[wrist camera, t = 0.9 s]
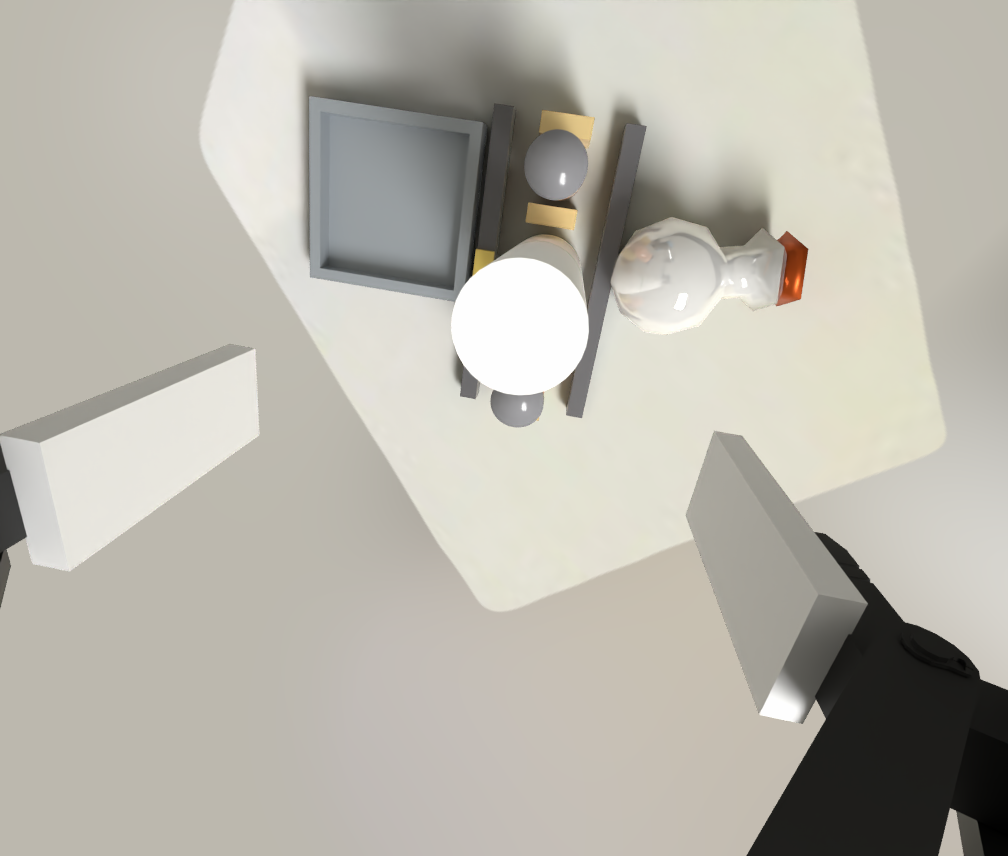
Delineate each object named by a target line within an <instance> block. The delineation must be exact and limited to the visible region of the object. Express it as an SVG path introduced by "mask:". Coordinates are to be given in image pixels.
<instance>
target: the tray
mask: <svg viewBox="0 0 1008 856" xmlns="http://www.w3.org/2000/svg"><path fill="white" fill-rule="evenodd" d="M486 135H487V125H485V124H484V123H483V122H479V121H472V120H466V119H459V118H452V117H446V116H439V115H432V114H426V113H419V112H412V111H406V110H399V109H392V108H386V107H379V106H372V105H366V104H359V103H352V102H346V101H339V100H332V99H326V98H319V97H312V96H309V182H310V277H312V278H318V279H324V280H330V281H336V282H342V283H348V284H354V285H359V286H365V287H371V288H377V289H383V290H389V291H395V292H401V293H407V294H412V295H418V296H424V297H430V298H436V299H442V300H448V301H454V302H456V299H457V297H458V295H459V293H460V291H461V289H462V288H463V287H464V285H465V284H466V283H467V282H468V280H469V279H470V274H471V266H472V257H473V248H474V240H475V231H476V222H477V213H478V205H479V196H480V187H481V179H482V170H483V161H484V152H485V144H486Z"/></svg>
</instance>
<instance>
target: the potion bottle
mask: <svg viewBox="0 0 1008 856" xmlns="http://www.w3.org/2000/svg"><path fill="white" fill-rule="evenodd" d="M807 254H808V248H806V247H805V246H804V245H803V244H802V243H801V242H799V241H798V240H797V239H796V238H795V237H793V236H792V235H791V234H790V233H789V232H788V231H786V232H785V233H784V235H783V236H782V237H781V238H780V239H778V240H776V239H775V238H774V237H773V236H772V235H770V234H769V233H768V232H767V231H766V230H765V229H764V228H763V227H762V228H761V229H760V230H759V231H758V232H757V233H756V234H755V235H754V236H753V237H752V238H751V239H750V240H749V241H748V242H747V243H746V244H745V245H743V246H729V247H719V246H718V244H717V242H716V241H715V239H714V237H713V236H712V234H711V232H710V230H709V229H708V227H705V226H702V225H698V224H695V223H691V222H688V221H684V220H681V219H677V218H674V217H669V218H667V219H664V220H662V221H659V222H656V223H654V224H651V225H649V226H646V227H644V228H641V229H638V230H636V231H635V232H634V234H633V235H632V236H631V238H630V239H629V241H628V242H627V244H626V245H625V247H624V248H623V250H622V251H621V252H620V254H619V255H618V257H617V258H616V260H615V261H614V266H613V272H612V277H611V282H610V283H611V287H612V290H613V294H614V297H615V300H616V302H617V305H618V308H619V310H620V312H621V313H622V314H623V315H624V316H625V317H626V318H627V319H628V320H629V321H630V322H632V323H633V324H634V325H635V326H637V327H638V328H640V329H641V330H642V331H644V332H648V333H654V334H661V335H668V334H671V333H675V332H679V331H682V330H686V329H690V328H693V327H697V326H700V325H701V324H702V322H703V321H704V320H705V319H706V317H707V316H708V315H709V313H710V312H711V311H712V310H713V308H714V307H715V306H716V304H717V303H718V302H719V301H720V299H734V298H739V299H740V300H741V301H742V302H744V303H745V304H746V305H747V306H748V307H749V308H750V309H751V310H752V311H755V310H758V309H761V308H765V307H768V306H771V305H774V304H775V305H776V306H780V305H783V304H786V303H790V302H793V301H796V300H800V299H801V294H802V287H803V280H804V274H805V267H806V260H807Z"/></svg>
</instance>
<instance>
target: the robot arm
mask: <svg viewBox="0 0 1008 856" xmlns="http://www.w3.org/2000/svg"><path fill="white" fill-rule="evenodd" d="M257 436H259V418H258V395H257V374H256V354H255V348H250V347H244V346H239V345H233V344H229V345H226V346H223V347H221V348H219V349H216V350H213V351H211V352H208V353H206V354H203V355H201V356H198V357H195V358H193V359H190V360H188V361H185V362H183V363H180V364H177V365H175V366H173V367H170V368H167V369H165V370H162V371H160V372H157V373H155V374H152V375H150V376H147V377H144V378H142V379H139V380H137V381H134V382H132V383H129V384H126V385H124V386H121V387H119V388H116V389H114V390H111V391H109V392H106V393H103V394H101V395H98V396H96V397H93V398H91V399H88V400H86V401H83V402H81V403H78V404H76V405H73V406H70V407H68V408H65V409H63V410H60V411H58V412H55V413H53V414H50V415H47V416H45V417H42V418H40V419H37V420H35V421H32V422H30V423H27V424H24V425H22V426H20V427H17V428H14V429H12V430H9V431H7V432H4V433H2V434H0V607H1V603H2V599H3V595H4V591H5V587H6V583H7V579H8V575H9V571H10V567H11V565H10V560H9V557H8V553H7V550H6V549H7V548H9V547H11V546H12V545H14V544H16V543H17V542H19V541H21V540H22V539H24V538H26V542H27V545H28V549H29V553H30V557H31V560H32V564H36V565H41V566H46V567H50V568H56V569H61V570H65V571H71V570H72V569H74V568H75V567H76V566H78V565H79V564H80V563H82V562H83V561H85V560H86V559H88V558H89V557H90V556H92V555H93V554H95V553H96V552H97V551H99V550H100V549H102V548H103V547H104V546H106V545H107V544H108V543H110V542H111V541H113V540H114V539H115V538H117V537H118V536H119V535H121V534H122V533H124V532H125V531H126V530H128V529H129V528H131V527H132V526H134V525H135V524H136V523H138V522H139V521H140V520H142V519H143V518H145V517H146V516H147V515H149V514H150V513H152V512H153V511H154V510H155V509H157V508H159V507H160V506H161V505H163V504H164V503H165V502H167V501H168V500H169V499H171V498H172V497H174V496H175V495H176V494H178V493H179V492H181V491H182V490H183V489H185V488H186V487H188V486H189V485H191V484H192V483H193V482H195V481H196V480H197V479H199V478H200V477H202V476H203V475H204V474H206V473H207V472H209V471H210V470H211V469H213V468H214V467H216V466H217V465H218V464H220V463H221V462H222V461H224V460H225V459H227V458H228V457H229V456H231V455H232V454H234V453H235V452H236V451H238V450H239V449H241V448H242V447H243V446H245V445H246V444H247V443H249V442H250V441H252V440H253V439H254V438H256V437H257ZM686 518H687V520H688V523H689V526H690V529H691V531H692V534H693V537H694V539H695V542H696V545H697V547H698V550H699V553H700V556H701V558H702V561H703V564H704V567H705V569H706V572H707V575H708V577H709V580H710V583H711V585H712V588H713V591H714V593H715V596H716V599H717V602H718V604H719V607H720V610H721V613H722V615H723V618H724V621H725V623H726V626H727V629H728V632H729V634H730V637H731V640H732V642H733V645H734V648H735V651H736V653H737V656H738V659H739V661H740V664H741V667H742V669H743V672H744V675H745V678H746V680H747V683H748V686H749V689H750V691H751V694H752V697H753V699H754V702H755V705H756V707H757V710H758V713H759V715H763V716H768V717H772V718H777V719H782V720H787V721H792V722H796V723H801V724H803V722H804V720H805V719H806V717H807V715H808V713H809V711H810V709H811V708H812V706H813V704H814V702H815V700H817V702H818V704H819V706H820V708H821V710H822V712H823V714H824V716H825V718H826V720H825V722H824V724H823V725H822V727H821V729H820V731H819V732H818V734H817V736H816V737H815V739H814V741H813V743H812V744H811V746H810V748H809V749H808V751H807V753H806V755H805V756H804V758H803V760H802V761H801V763H800V765H799V766H798V768H797V770H796V772H795V774H794V775H793V777H792V778H791V780H790V782H789V784H788V785H787V787H786V789H785V791H784V792H783V794H782V796H781V797H780V799H779V801H778V803H777V804H776V806H775V808H774V809H773V811H772V813H771V815H770V816H769V818H768V820H767V821H766V823H765V825H764V826H763V828H762V830H761V832H760V833H759V835H758V837H757V839H756V840H755V842H754V844H753V845H752V847H751V849H750V851H749V852H748V854H747V856H938V854H939V849H940V846H941V842H942V838H943V834H944V830H945V826H946V821H947V817H948V813H949V809H950V808H951V809H954V810H956V812H957V817H958V823H959V829H960V835H961V841H962V847H963V853H964V856H1008V690H1006V689H1003V688H1001V687H998V686H996V685H993V684H991V683H988V682H986V681H983V680H981V679H980V675H979V671H978V669H977V668H976V667H975V665H974V664H973V663H972V661H971V660H970V659H969V658H968V657H967V656H966V655H965V654H964V653H963V652H961V651H960V650H959V649H958V648H957V647H955V646H954V645H953V644H951V643H950V642H948V641H946V640H945V639H943V638H942V637H940V636H938V635H937V634H935V633H933V632H930V631H928V630H926V629H924V628H921V627H919V626H917V625H913V624H909V623H905V622H904V621H903V620H902V619H901V617H900V616H899V615H898V614H897V612H896V611H895V610H894V609H893V608H892V606H891V605H890V604H889V603H888V601H887V600H886V599H885V598H884V596H883V595H882V594H881V593H880V591H879V590H878V589H877V588H876V586H875V585H874V584H873V583H870V579H869V578H868V576H867V575H866V574H865V573H864V571H863V570H862V569H859V565H858V564H857V563H856V561H855V560H854V559H853V558H852V557H851V555H850V554H849V553H848V551H847V550H846V549H844V548H843V547H842V546H840V545H839V544H838V543H837V542H835V541H834V540H833V539H831V538H830V537H828V536H827V535H826V534H823V533H817V532H814V531H813V530H812V528H811V527H810V526H809V525H808V523H807V522H806V521H805V519H804V518H803V516H802V515H801V514H800V512H799V511H798V510H797V508H796V507H795V506H794V504H793V503H792V502H791V500H790V499H789V498H788V496H787V495H786V494H785V492H784V491H783V490H782V488H781V487H780V486H779V484H778V483H777V482H776V480H775V479H774V478H773V476H772V475H771V474H770V472H769V471H768V470H767V468H766V467H765V466H764V464H763V463H762V462H761V460H760V459H759V458H758V456H757V455H756V454H755V452H754V451H753V450H752V448H751V447H750V446H749V444H748V443H747V442H746V440H745V439H744V438H743V436H740V435H734V434H729V433H723V432H718V431H714V433H713V436H712V439H711V442H710V445H709V448H708V450H707V453H706V456H705V459H704V462H703V465H702V468H701V471H700V474H699V477H698V480H697V483H696V486H695V489H694V492H693V495H692V498H691V501H690V504H689V507H688V510H687V513H686Z"/></svg>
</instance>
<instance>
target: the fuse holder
mask: <svg viewBox="0 0 1008 856" xmlns="http://www.w3.org/2000/svg"><path fill="white" fill-rule="evenodd" d="M515 114H516V110H515V108H514V106H507V105H501V104H494V112H493V121H492V129H491V138H490V146H489V155H488V163H487V172H486V180H485V189H484V197H483V206H482V214H481V223H480V231H479V240H478V248H477V249H476V252H475V260H474V269H473V275H475V274H476V273H477V272H478V271H479V270H481V269H482V268H484V267H485V266H487V265H488V264H490V263H491V262H493V261H494V260H496V258H497V250H498V243H499V235H500V228H501V220H502V212H503V205H504V197H505V190H506V182H507V175H508V167H509V160H510V152H511V144H512V137H513V129H514V122H515ZM594 119H595V118H594V117H587V116H581V115H574V114H567V113H560V112H554V111H547V110H542V115H541V121H540V128H539V134H540V135H541V134H542V133H544V132H547V131H549V130H554V129H561V130H566V131H569V132H571V133H573V134H574V135H575V136H577V137H578V138H579V139H580V141H581V142H582V143H583V145H584V147H585V148H589V144H590V140H591V135H592V129H593V124H594ZM645 131H646V126H642V125H636V124H629V123H627V124H626V126H625V128H624V133H623V138H622V143H621V147H620V152H619V157H618V162H617V167H616V171H615V176H614V181H613V186H612V191H611V196H610V200H609V205H608V210H607V215H606V220H605V225H604V229H603V234H602V239H601V244H600V249H599V254H598V258H597V263H596V268H595V273H594V278H593V283H592V287H591V292H590V297H589V302H588V307H587V312H588V324H589V334H588V340H587V345H586V348H585V351H584V353H583V356H582V358H581V360H580V362H579V363H578V365H577V366H576V368H575V370H574V374H573V379H572V384H571V389H570V394H569V399H568V403H567V408H566V415H568V416H573V417H579V418H582V415H583V411H584V406H585V402H586V397H587V393H588V388H589V384H590V379H591V375H592V370H593V366H594V361H595V357H596V352H597V348H598V343H599V339H600V334H601V330H602V325H603V321H604V316H605V311H606V307H607V302H608V298H609V293H610V289H611V283H610V282H611V277H612V272H613V266H614V261H615V260H616V258H617V257H618V253H619V248H620V244H621V239H622V235H623V230H624V226H625V221H626V217H627V212H628V208H629V203H630V199H631V194H632V190H633V185H634V181H635V176H636V172H637V167H638V163H639V158H640V154H641V149H642V144H643V140H644V135H645ZM576 216H577V210H574V209H567V208H561V207H555V206H548V205H542V204H536V203H528V208H527V215H526V221H525V222H527V223H533V224H539V225H545V226H552V227H558V228H564V229H570V230H574V226H575V221H576ZM479 386H480V381H478V380H477V379H476V378H475V377H474V376H472V375H471V373H470V372H469V371H468V370H467V369H466V367H465V366H464V367H463V376H462V384H461V393H460V396H462V397H468V398H473V399H476V397H477V395H478V393H479ZM537 420H539V417H538V419H537Z"/></svg>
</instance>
